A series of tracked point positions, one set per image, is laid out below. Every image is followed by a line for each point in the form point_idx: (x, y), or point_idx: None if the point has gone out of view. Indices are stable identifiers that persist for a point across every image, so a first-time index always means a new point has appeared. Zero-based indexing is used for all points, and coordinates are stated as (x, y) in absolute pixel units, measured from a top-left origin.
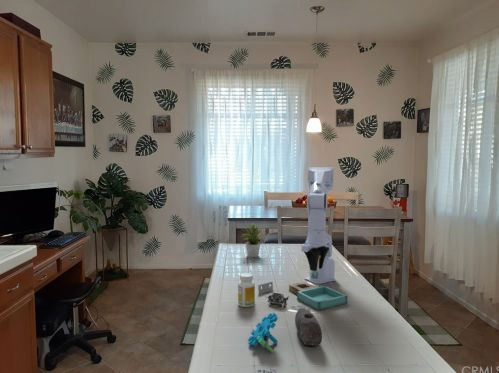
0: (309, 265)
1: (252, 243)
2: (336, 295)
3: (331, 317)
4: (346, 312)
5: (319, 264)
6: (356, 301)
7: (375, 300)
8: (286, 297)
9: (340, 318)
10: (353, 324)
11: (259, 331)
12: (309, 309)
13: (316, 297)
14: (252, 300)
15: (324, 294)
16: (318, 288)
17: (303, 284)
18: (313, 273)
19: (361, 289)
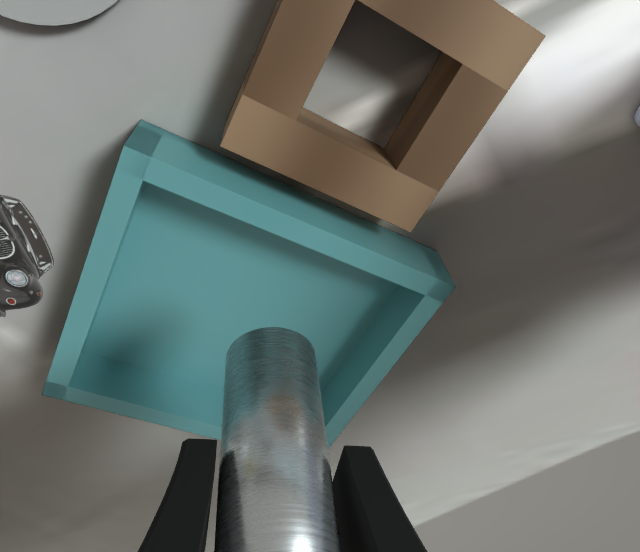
0: (164, 498)
1: None
2: (341, 382)
3: (37, 433)
4: (172, 458)
5: (341, 541)
6: (372, 443)
7: (439, 493)
8: (42, 24)
9: (68, 464)
10: (55, 516)
11: None
12: (26, 299)
13: (259, 264)
14: None
15: (364, 284)
16: (363, 267)
17: (454, 59)
18: (222, 420)
19: (603, 404)
